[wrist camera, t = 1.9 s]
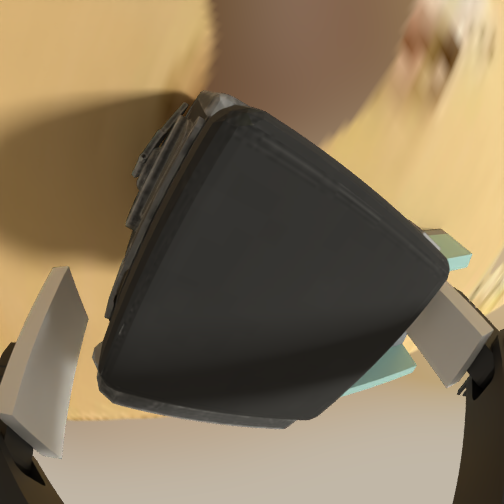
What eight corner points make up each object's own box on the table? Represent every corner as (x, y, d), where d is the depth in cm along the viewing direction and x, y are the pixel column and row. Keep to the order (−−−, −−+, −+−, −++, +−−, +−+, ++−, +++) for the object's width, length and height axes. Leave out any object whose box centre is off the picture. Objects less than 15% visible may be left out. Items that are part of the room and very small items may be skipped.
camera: (115, 218, 19) (52, 415, 7) (186, 80, 16) (176, 52, 3) (238, 270, 24) (293, 451, 11) (315, 158, 20) (476, 286, 8)
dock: (304, 240, 24) (330, 277, 20) (441, 229, 27) (472, 254, 22) (285, 373, 33) (297, 408, 29) (395, 345, 36) (412, 372, 32)
